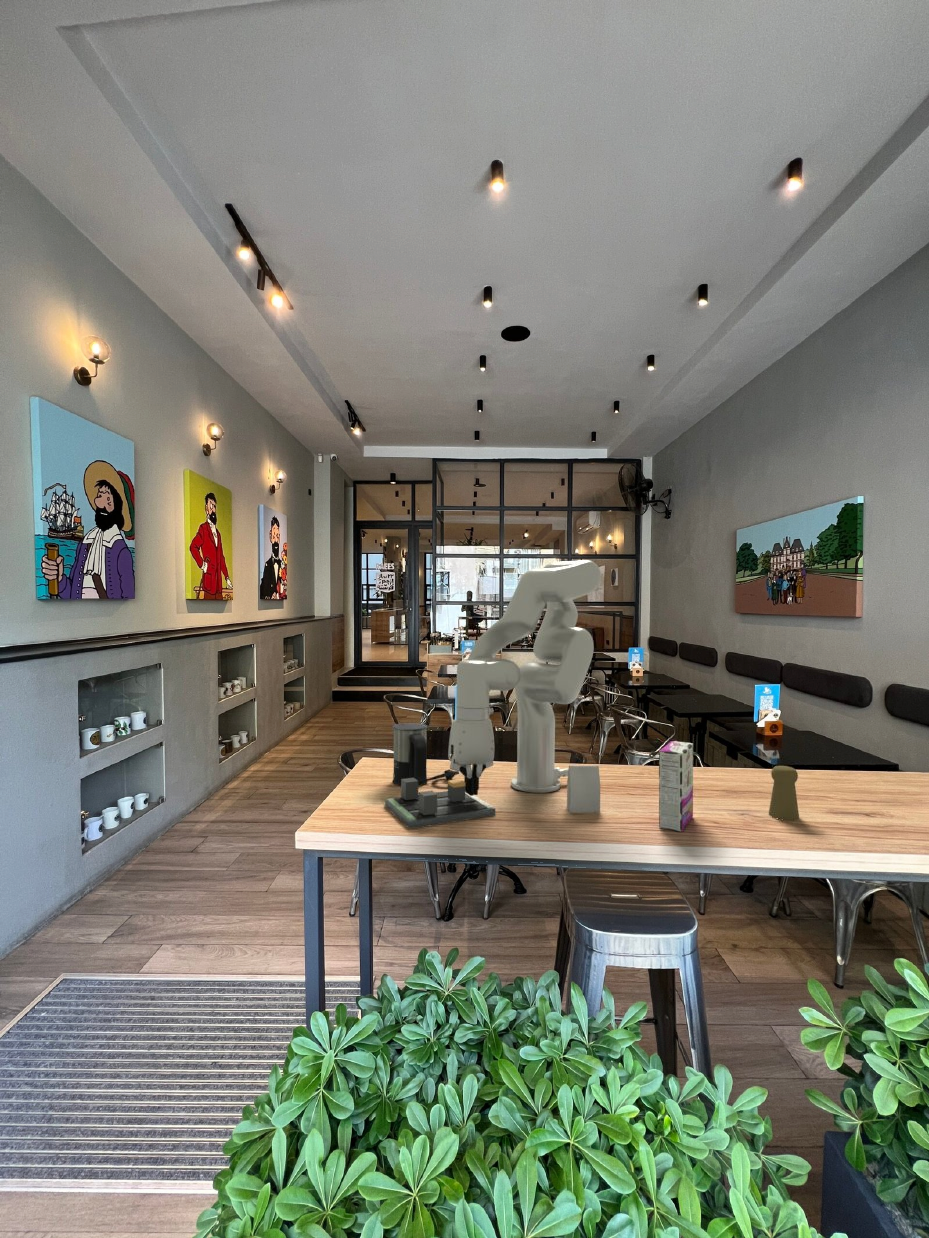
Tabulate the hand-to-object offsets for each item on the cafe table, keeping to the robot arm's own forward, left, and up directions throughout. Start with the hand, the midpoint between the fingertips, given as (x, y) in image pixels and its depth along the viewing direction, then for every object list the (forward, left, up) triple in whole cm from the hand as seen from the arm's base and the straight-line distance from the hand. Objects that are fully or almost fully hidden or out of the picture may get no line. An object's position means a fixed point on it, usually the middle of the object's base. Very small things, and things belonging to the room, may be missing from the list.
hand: (471, 793), depth 139 cm
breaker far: (+13, -6, -1) cm, 14 cm away
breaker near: (+13, +5, -1) cm, 14 cm away
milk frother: (+2, -22, -3) cm, 23 cm away
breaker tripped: (+4, 0, -1) cm, 4 cm away
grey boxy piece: (-22, +13, -3) cm, 26 cm away
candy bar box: (-35, +28, -3) cm, 45 cm away
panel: (+8, 0, -3) cm, 9 cm away
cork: (-60, +35, -3) cm, 69 cm away
